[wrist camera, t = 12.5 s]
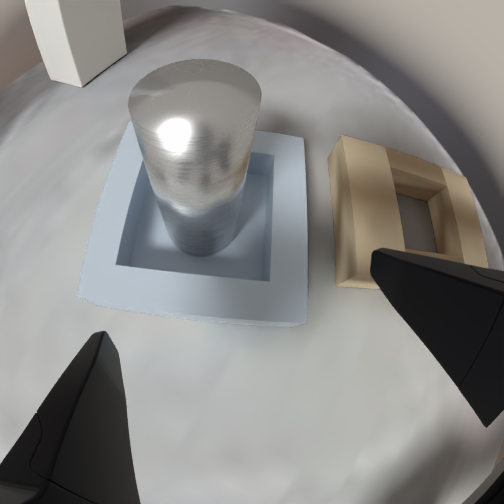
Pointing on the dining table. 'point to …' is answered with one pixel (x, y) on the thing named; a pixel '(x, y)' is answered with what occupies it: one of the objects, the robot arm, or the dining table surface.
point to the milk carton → (77, 37)
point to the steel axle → (197, 147)
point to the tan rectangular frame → (395, 208)
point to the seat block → (208, 267)
